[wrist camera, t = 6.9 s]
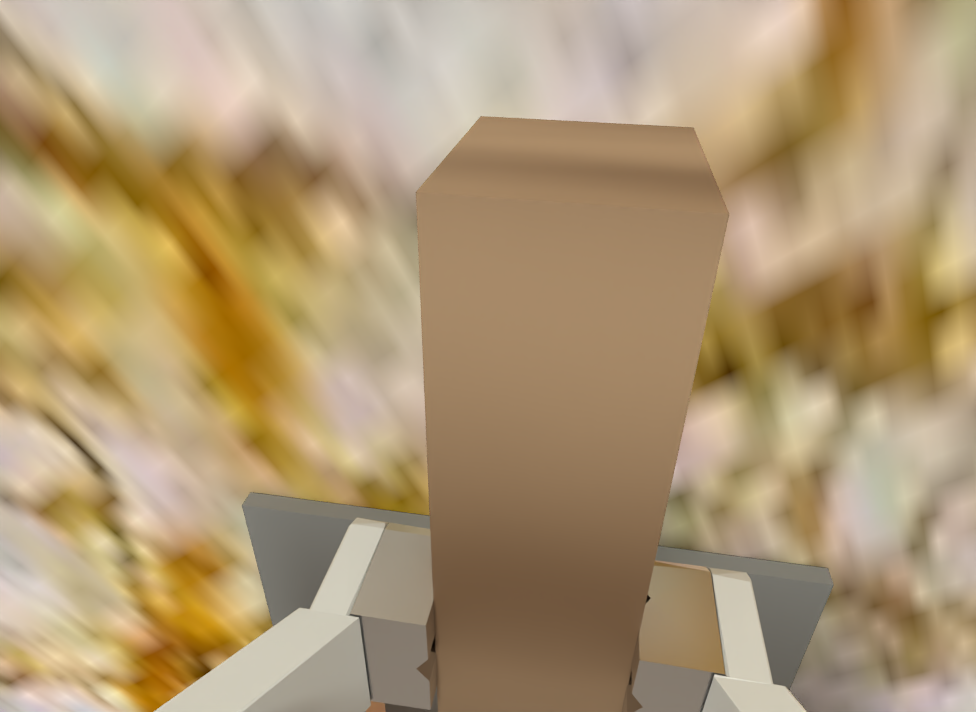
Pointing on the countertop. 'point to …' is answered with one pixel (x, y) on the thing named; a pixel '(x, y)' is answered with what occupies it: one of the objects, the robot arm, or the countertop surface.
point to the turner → (556, 396)
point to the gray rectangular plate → (322, 526)
